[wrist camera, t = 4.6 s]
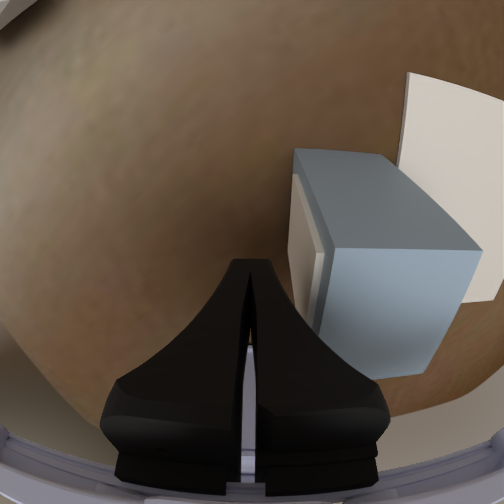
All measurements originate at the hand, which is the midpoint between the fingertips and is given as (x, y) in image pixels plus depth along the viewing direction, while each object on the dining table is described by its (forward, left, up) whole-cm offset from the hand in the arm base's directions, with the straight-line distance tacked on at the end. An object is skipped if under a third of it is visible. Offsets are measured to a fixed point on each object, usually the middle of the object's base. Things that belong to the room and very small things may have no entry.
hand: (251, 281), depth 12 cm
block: (0, -5, -8) cm, 9 cm away
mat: (0, -15, -8) cm, 17 cm away
